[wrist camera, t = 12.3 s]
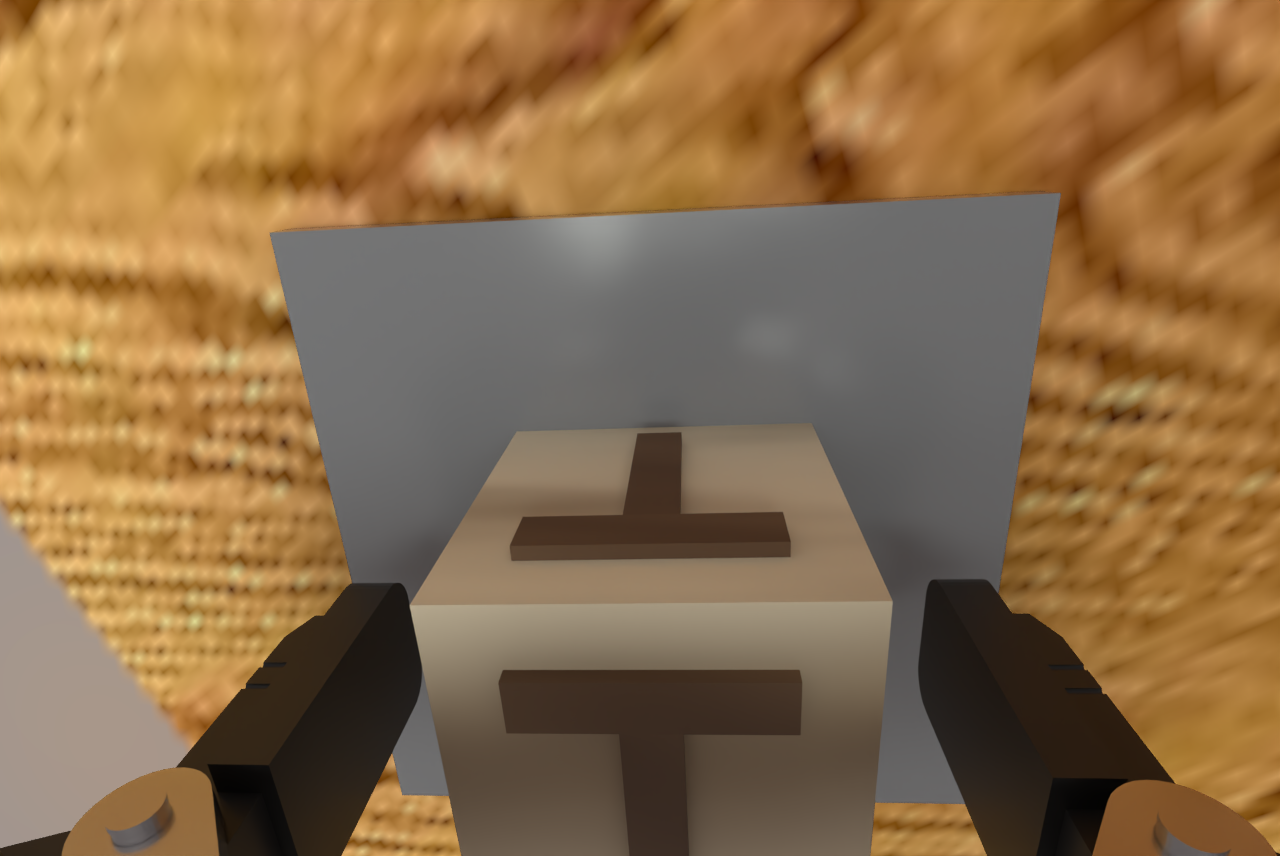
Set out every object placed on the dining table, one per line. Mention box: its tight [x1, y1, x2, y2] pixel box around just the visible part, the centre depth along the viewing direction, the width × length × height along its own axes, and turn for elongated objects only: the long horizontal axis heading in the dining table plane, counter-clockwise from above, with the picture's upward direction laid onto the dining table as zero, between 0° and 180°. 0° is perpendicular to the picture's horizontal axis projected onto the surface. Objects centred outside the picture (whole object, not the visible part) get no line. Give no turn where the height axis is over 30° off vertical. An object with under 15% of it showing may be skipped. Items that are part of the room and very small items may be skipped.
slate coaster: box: [270, 191, 1061, 804], centre depth 13 cm, size 12×12×1 cm
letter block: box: [410, 423, 893, 856], centre depth 10 cm, size 5×5×5 cm
